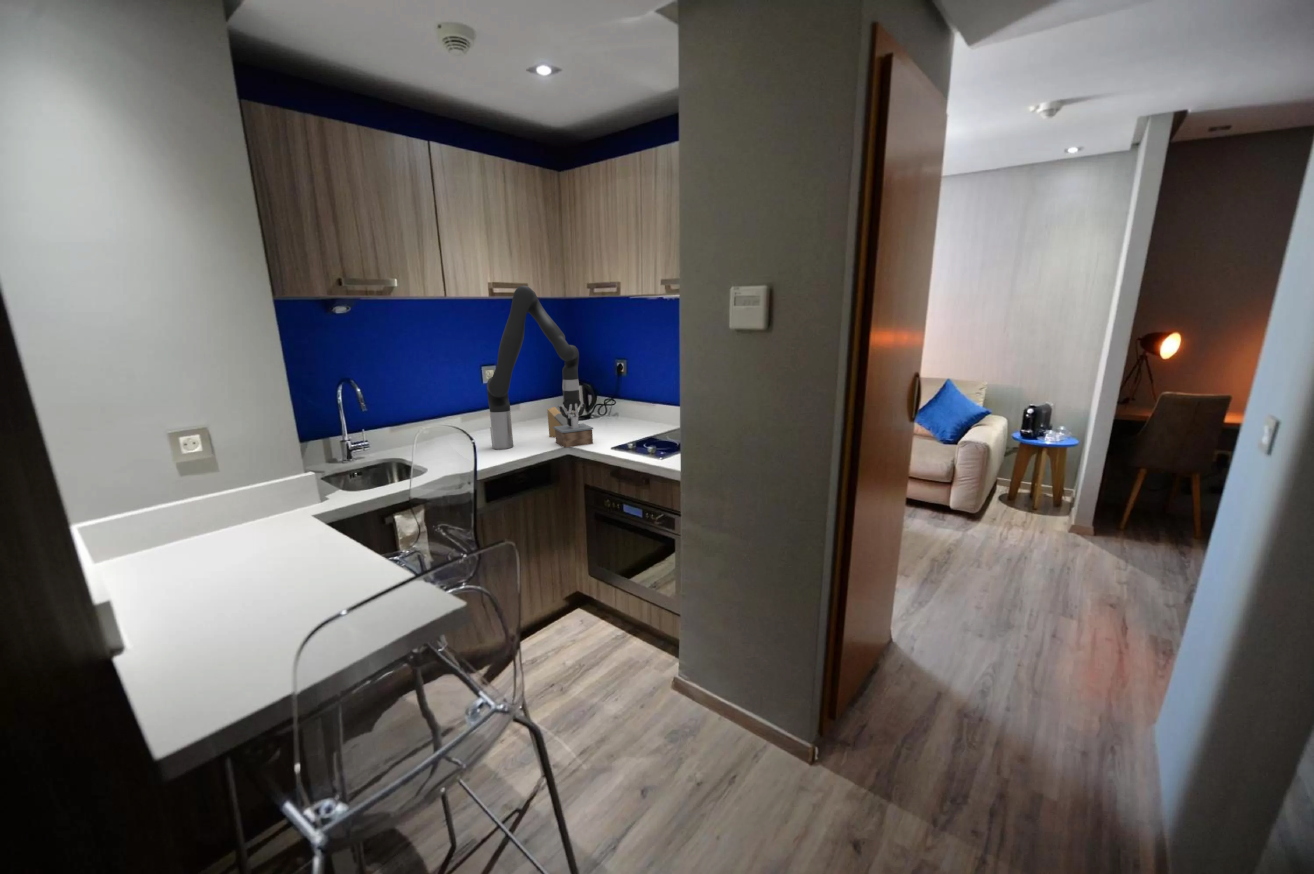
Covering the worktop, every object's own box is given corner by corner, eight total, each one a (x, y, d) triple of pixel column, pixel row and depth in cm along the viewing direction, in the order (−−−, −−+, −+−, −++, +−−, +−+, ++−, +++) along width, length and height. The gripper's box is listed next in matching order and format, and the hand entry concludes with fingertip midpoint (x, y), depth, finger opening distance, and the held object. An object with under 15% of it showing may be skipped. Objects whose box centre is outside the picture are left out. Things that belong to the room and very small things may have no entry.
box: (564, 448, 240) (563, 433, 239) (556, 443, 250) (555, 429, 249) (593, 444, 247) (592, 430, 245) (583, 439, 257) (582, 426, 255)
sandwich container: (577, 439, 259) (575, 409, 256) (549, 438, 263) (546, 409, 259) (584, 435, 267) (582, 406, 264) (556, 435, 271) (554, 406, 268)
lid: (562, 434, 238) (561, 420, 236) (553, 430, 249) (552, 416, 248) (593, 430, 245) (592, 417, 243) (583, 426, 256) (582, 413, 255)
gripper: (559, 391, 236) (561, 428, 240) (588, 388, 243) (589, 425, 247) (553, 389, 243) (556, 426, 246) (582, 387, 249) (584, 422, 253)
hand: (573, 425), depth 246 cm, fingers closed on lid, 2 cm apart
